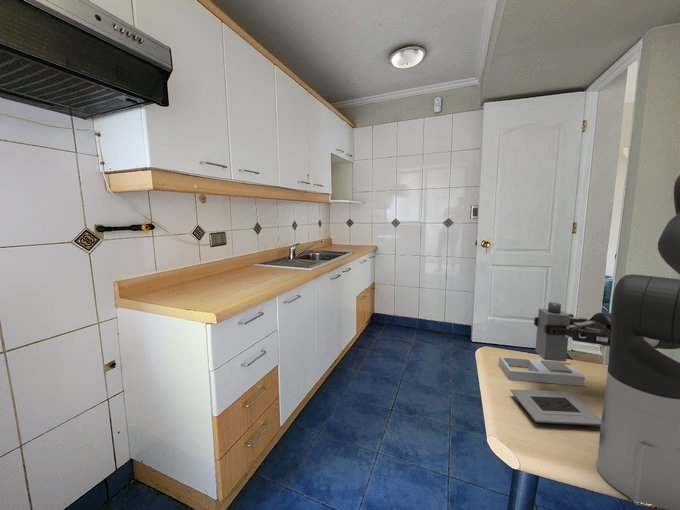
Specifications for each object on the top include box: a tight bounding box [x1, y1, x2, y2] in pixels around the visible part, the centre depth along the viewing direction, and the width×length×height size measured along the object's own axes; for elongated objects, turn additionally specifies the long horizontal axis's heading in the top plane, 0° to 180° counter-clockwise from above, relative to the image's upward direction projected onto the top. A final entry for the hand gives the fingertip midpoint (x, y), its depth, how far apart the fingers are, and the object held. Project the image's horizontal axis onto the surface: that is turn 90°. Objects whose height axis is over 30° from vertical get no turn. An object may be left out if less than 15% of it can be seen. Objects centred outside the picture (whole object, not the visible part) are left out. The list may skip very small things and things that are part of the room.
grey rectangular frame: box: [498, 355, 586, 387], centre depth 77 cm, size 8×17×3 cm, turn 79°
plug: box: [535, 301, 570, 362], centre depth 69 cm, size 4×4×13 cm
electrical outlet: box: [510, 388, 602, 427], centre depth 62 cm, size 13×10×2 cm
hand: (540, 325), depth 69 cm, fingers closed on plug, 4 cm apart
